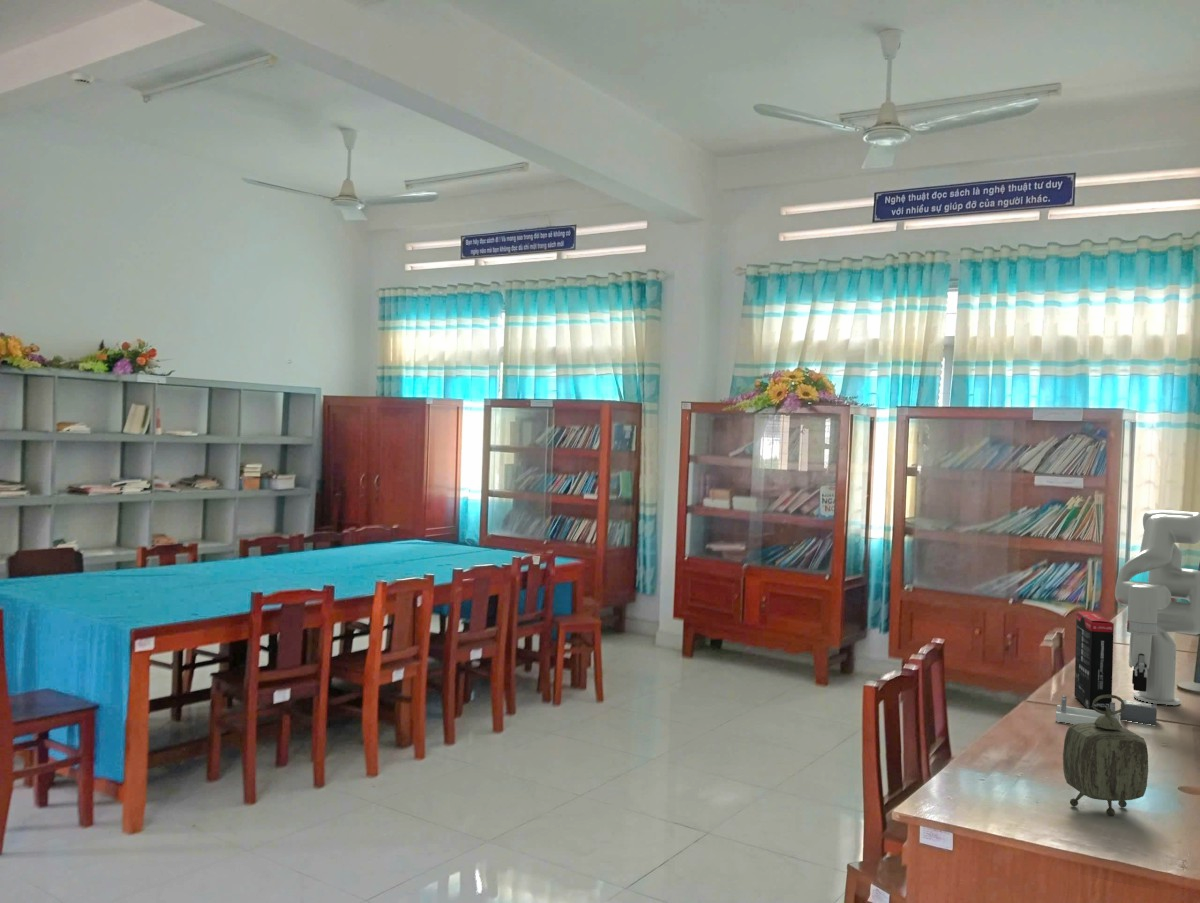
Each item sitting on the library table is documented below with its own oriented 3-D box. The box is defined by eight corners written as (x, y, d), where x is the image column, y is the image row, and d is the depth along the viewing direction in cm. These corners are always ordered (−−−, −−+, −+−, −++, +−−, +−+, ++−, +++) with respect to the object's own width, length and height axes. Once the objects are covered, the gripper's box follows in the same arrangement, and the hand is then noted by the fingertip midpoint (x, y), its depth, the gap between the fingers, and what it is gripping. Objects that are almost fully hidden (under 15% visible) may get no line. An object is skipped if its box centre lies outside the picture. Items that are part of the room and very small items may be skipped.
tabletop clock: (1126, 804, 210) (1130, 690, 210) (1151, 821, 201) (1156, 701, 201) (1060, 803, 210) (1065, 688, 209) (1083, 819, 201) (1087, 700, 200)
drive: (1120, 716, 282) (1121, 699, 282) (1156, 722, 278) (1156, 704, 278) (1120, 721, 278) (1120, 703, 277) (1156, 726, 273) (1156, 708, 273)
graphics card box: (1113, 713, 285) (1116, 621, 284) (1087, 711, 286) (1091, 620, 286) (1095, 698, 301) (1098, 612, 301) (1071, 696, 303) (1075, 610, 303)
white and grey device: (1057, 712, 283) (1057, 692, 283) (1118, 721, 276) (1119, 700, 276) (1055, 721, 273) (1056, 700, 273) (1119, 731, 266) (1120, 709, 266)
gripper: (1126, 622, 287) (1123, 680, 286) (1127, 630, 271) (1124, 691, 271) (1155, 626, 283) (1152, 684, 283) (1158, 633, 268) (1155, 695, 267)
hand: (1139, 687), depth 277 cm, fingers open, 9 cm apart
